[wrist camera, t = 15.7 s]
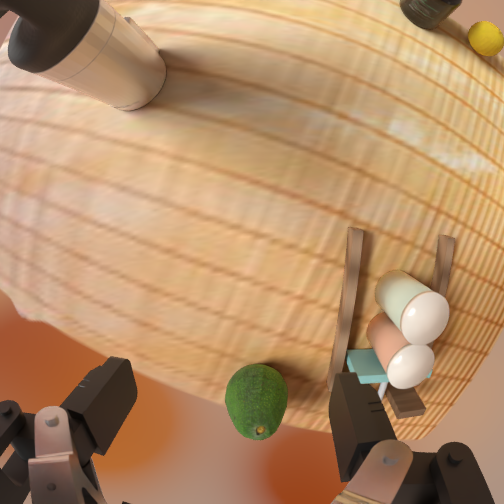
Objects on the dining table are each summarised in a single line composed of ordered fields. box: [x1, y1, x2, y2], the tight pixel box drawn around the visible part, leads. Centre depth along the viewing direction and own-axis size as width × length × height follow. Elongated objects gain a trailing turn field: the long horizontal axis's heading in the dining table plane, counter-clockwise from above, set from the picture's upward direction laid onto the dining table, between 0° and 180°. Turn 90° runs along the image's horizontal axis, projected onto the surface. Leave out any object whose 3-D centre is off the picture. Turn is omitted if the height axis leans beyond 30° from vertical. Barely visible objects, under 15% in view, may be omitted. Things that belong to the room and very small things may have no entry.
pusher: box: [345, 349, 432, 402], centre depth 34 cm, size 8×11×6 cm
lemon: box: [468, 21, 504, 56], centre depth 22 cm, size 6×6×8 cm
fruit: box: [225, 364, 288, 440], centre depth 33 cm, size 8×8×12 cm
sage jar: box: [375, 270, 449, 345], centre depth 30 cm, size 6×6×10 cm
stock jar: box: [366, 312, 435, 389], centre depth 31 cm, size 6×6×10 cm
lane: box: [327, 227, 455, 419], centre depth 31 cm, size 23×14×8 cm, turn 178°
